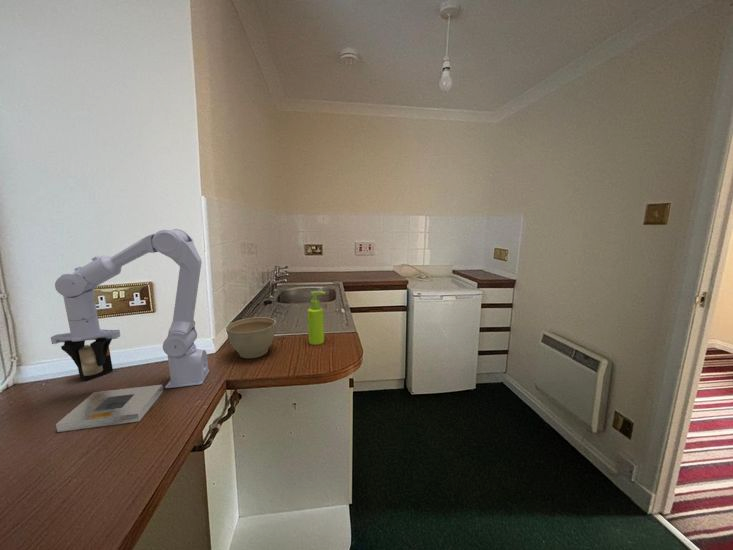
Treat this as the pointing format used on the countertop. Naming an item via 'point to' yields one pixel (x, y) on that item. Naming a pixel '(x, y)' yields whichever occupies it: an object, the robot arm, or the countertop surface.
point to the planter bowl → (251, 336)
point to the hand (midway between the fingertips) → (91, 365)
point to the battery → (106, 366)
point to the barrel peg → (89, 361)
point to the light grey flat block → (111, 408)
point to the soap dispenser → (316, 320)
